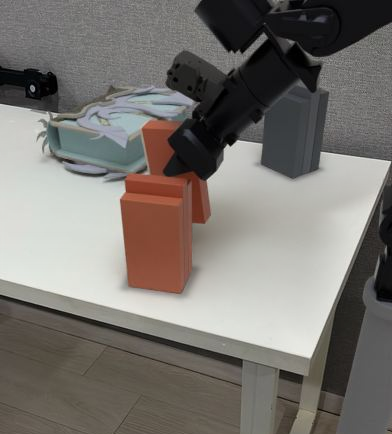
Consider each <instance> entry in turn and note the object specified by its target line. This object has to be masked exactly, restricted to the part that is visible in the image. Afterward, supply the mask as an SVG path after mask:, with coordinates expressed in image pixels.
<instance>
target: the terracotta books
mask: <svg viewBox="0 0 392 434" xmlns="http://www.w3.org/2000/svg"><path fill="white" fill-rule="evenodd" d="M124 190H125V192H124V193H123V195H122V196H120V198H119V206H120V215H121V226H122V235H123V246H124V257H125V265H126V275H127V276H126V277H127V285H128V287H131V288H138V289H146V290H152V291H159V292H166V293H173V294H180V295H181V294H182V292H183V290H184V288H185V286H186V284H187V282H188V279H189V277H190V275H191V273H192V271H193V223H192V181H191V180H188V179H184V178H174V177H164V176H154V175H149V174H143V173H129V175H128V176H125V178H124Z"/></svg>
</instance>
